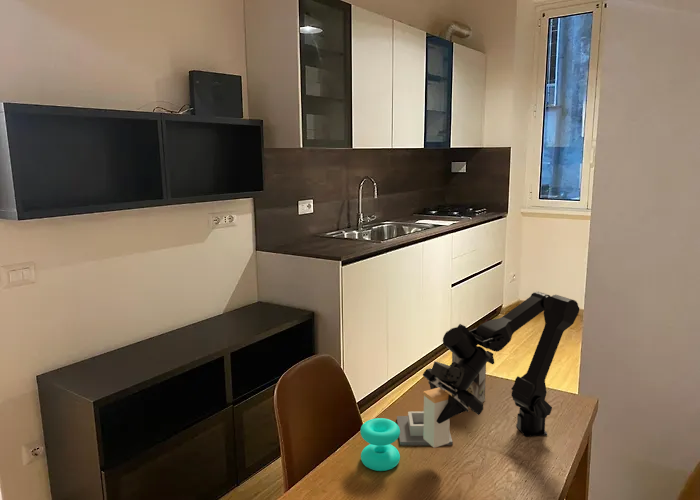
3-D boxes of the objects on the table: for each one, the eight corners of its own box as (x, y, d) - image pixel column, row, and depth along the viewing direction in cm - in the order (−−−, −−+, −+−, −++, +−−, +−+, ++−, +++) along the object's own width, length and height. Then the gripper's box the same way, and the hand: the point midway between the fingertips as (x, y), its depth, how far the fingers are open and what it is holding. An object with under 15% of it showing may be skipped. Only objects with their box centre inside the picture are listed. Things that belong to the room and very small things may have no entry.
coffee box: (485, 399, 171) (487, 350, 168) (478, 407, 166) (480, 357, 163) (458, 392, 176) (459, 345, 173) (450, 400, 171) (451, 352, 167)
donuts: (352, 427, 136) (376, 412, 144) (352, 463, 138) (376, 446, 146) (384, 440, 130) (407, 424, 138) (384, 478, 132) (407, 459, 140)
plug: (438, 433, 140) (439, 387, 138) (449, 443, 136) (450, 395, 133) (422, 438, 138) (423, 391, 136) (433, 448, 134) (434, 399, 131)
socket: (444, 418, 159) (444, 406, 159) (452, 445, 146) (452, 431, 145) (396, 419, 160) (396, 406, 159) (400, 445, 146) (400, 431, 145)
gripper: (428, 338, 142) (392, 387, 140) (475, 364, 126) (435, 419, 123) (452, 361, 147) (418, 408, 145) (500, 388, 131) (462, 441, 128)
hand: (431, 418), depth 135 cm, fingers closed on plug, 5 cm apart
